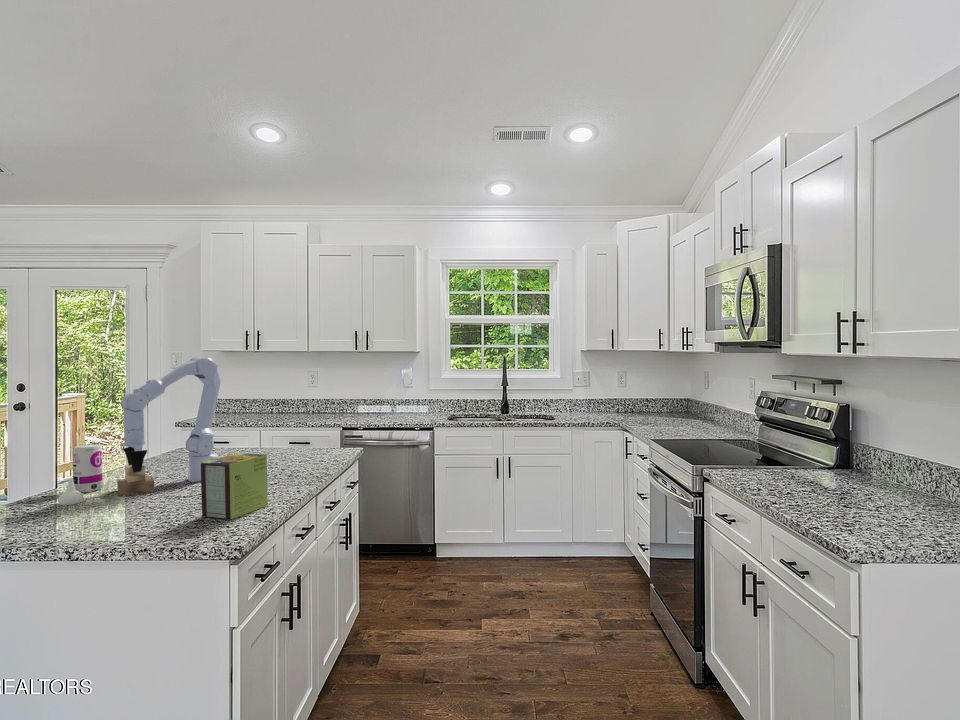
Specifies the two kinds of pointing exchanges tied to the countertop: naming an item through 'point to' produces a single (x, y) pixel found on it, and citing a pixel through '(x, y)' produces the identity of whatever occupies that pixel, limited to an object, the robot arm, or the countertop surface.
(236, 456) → the protein box
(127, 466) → the maple cube
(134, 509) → the countertop surface
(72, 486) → the garlic bulb
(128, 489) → the walnut block
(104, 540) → the countertop surface
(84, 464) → the supplement can
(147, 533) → the countertop surface
